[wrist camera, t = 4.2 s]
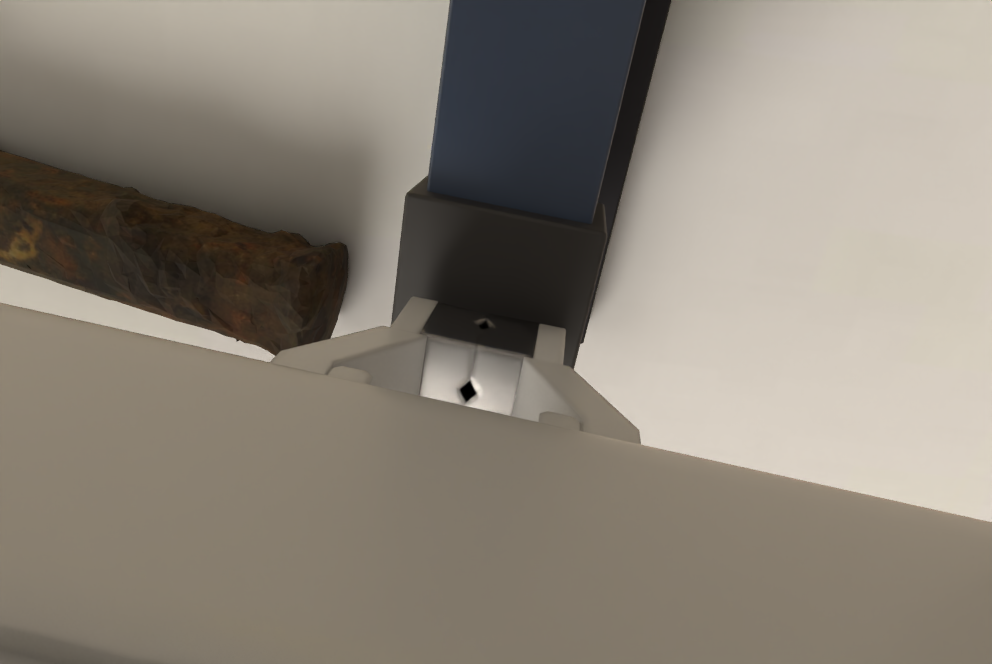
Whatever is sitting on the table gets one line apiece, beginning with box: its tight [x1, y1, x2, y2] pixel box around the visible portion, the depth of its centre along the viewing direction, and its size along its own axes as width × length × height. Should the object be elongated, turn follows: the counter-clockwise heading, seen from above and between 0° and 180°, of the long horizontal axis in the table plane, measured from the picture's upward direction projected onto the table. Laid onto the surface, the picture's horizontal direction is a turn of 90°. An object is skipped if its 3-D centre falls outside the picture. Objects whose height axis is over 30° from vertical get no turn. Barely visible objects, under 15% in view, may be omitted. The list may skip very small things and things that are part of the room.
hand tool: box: [0, 150, 348, 356], centre depth 19 cm, size 19×4×5 cm, turn 71°
